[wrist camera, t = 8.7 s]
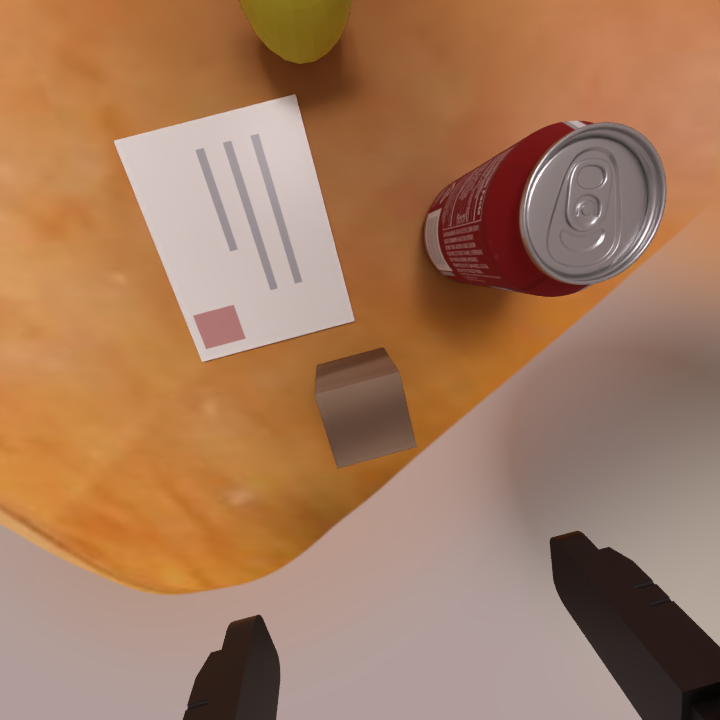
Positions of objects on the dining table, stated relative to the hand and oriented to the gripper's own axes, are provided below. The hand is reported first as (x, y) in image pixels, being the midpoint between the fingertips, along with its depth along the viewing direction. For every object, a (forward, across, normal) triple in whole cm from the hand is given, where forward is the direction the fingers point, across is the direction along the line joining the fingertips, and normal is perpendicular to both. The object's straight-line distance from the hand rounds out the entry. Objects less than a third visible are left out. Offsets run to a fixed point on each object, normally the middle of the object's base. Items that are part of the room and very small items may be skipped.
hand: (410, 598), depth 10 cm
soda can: (+18, -10, -8) cm, 22 cm away
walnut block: (+18, 0, 0) cm, 18 cm away
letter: (+18, +5, -11) cm, 22 cm away
